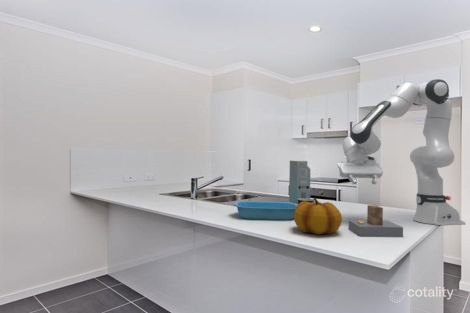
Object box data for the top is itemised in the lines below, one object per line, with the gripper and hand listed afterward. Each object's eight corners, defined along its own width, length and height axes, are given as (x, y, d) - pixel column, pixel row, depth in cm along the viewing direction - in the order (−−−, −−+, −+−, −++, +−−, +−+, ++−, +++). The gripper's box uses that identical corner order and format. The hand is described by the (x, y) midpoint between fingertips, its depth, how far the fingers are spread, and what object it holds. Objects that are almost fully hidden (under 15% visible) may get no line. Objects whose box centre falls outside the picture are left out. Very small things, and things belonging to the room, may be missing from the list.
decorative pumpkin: (294, 236, 128) (294, 200, 127) (293, 224, 149) (293, 193, 149) (345, 239, 124) (345, 202, 124) (336, 226, 146) (337, 195, 146)
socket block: (387, 229, 142) (387, 219, 142) (402, 236, 129) (403, 225, 129) (348, 228, 142) (348, 218, 142) (359, 236, 129) (359, 225, 129)
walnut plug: (376, 229, 139) (376, 205, 138) (382, 233, 133) (382, 207, 132) (367, 229, 139) (367, 205, 138) (373, 233, 133) (373, 207, 132)
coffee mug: (310, 220, 159) (311, 201, 158) (294, 218, 163) (295, 199, 163) (317, 216, 168) (318, 198, 168) (302, 215, 173) (302, 197, 173)
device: (309, 213, 178) (310, 161, 178) (296, 213, 177) (297, 161, 177) (300, 208, 194) (301, 160, 194) (288, 208, 194) (289, 160, 193)
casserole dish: (297, 213, 179) (297, 201, 179) (304, 222, 156) (304, 207, 156) (233, 212, 180) (233, 200, 180) (232, 220, 157) (232, 206, 157)
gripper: (338, 157, 154) (344, 179, 145) (379, 157, 154) (388, 179, 145) (335, 166, 159) (341, 187, 149) (374, 166, 159) (383, 187, 149)
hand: (364, 183), depth 147 cm, fingers open, 8 cm apart
